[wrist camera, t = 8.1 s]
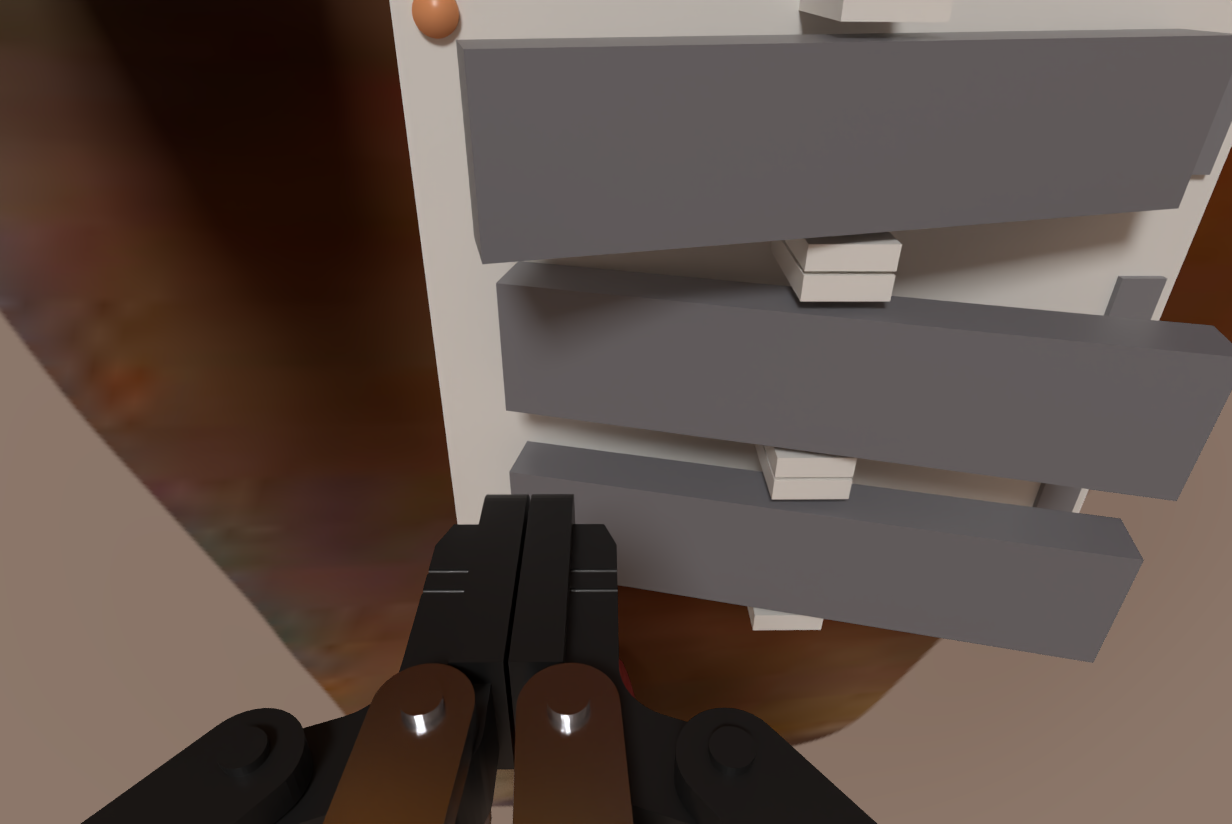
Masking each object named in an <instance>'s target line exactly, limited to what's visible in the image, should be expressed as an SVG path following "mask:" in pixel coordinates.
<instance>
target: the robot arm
mask: <svg viewBox="0 0 1232 824" xmlns="http://www.w3.org/2000/svg"><path fill="white" fill-rule="evenodd" d="M497 769H514V797H513V824H877V823H876V822H875V821H874V820H873V819H871V818H870V817H869V816H868V815H867V814H866V813H865V812H864V811H863V810H861V809H860V808H859V807H858V806H857V805H856V804H855V803H854V802H853V801H852V800H850V799H849V798H848V797H847V796H846V795H845V794H844V793H843V792H842V791H841V790H839V789H838V788H837V787H836V786H835V785H834V784H833V783H832V782H831V781H829V780H828V779H827V778H826V777H825V776H824V775H823V774H822V773H821V772H820V771H819V770H817V769H816V768H815V767H814V766H813V765H812V764H811V763H810V762H809V761H807V760H806V759H805V758H804V757H803V756H802V755H801V754H800V753H799V752H798V751H796V750H795V749H794V748H793V747H792V746H791V745H790V744H789V743H788V742H787V741H785V740H784V739H783V738H782V737H781V736H780V735H779V734H778V733H777V732H775V731H774V730H773V729H772V728H771V727H770V726H769V725H768V724H766V723H765V722H764V721H763V720H761V719H760V718H758V717H756V716H755V715H753V714H750V713H748V712H745V711H742V710H738V709H734V708H715V709H710V710H707V711H704V712H701V713H699V714H698V715H696V716H694V717H693V718H692V719H691V720H689V721H688V722H685V721H682V720H679V719H675V718H672V717H669V716H666V715H662V714H660V713H657V712H654V711H652V710H650V709H649V708H647V707H645V706H644V705H642V704H641V703H639V702H638V701H637V700H636V699H635V698H634V697H633V696H632V695H631V694H630V693H629V691H628V690H627V689H626V687H625V685H624V683H623V681H622V678H621V675H620V671H619V644H618V587H617V544H616V543H615V541H614V539H613V538H612V536H611V535H610V533H609V531H608V530H607V528H606V526H605V525H604V524H575V502H574V494H532V495H531V500H530V496H529V494H487V495H486V496H485V498H484V503H483V507H482V512H481V516H480V521H479V524H454V525H453V526H452V527H451V529H450V530H449V531H448V532H447V533H446V534H445V535H444V537H443V538H442V539H441V540H440V541H439V542H438V543H437V544H436V546H435V550H434V553H433V557H432V560H431V564H430V567H429V574H427V578H426V581H425V585H424V588H423V594H422V595H421V599H420V602H419V606H418V609H417V613H416V616H415V620H414V623H413V626H412V630H411V633H410V637H409V640H408V644H407V647H406V651H405V654H404V658H403V661H402V665H401V668H400V671H399V673H397V674H396V675H394V676H393V677H391V678H390V679H389V680H387V681H386V682H385V683H384V684H383V685H382V686H381V687H380V689H379V690H378V691H377V693H376V694H375V696H374V698H373V700H372V702H371V704H370V705H368V706H366V707H365V708H363V709H361V710H359V711H357V712H355V713H352V714H350V715H347V716H344V717H341V718H337V719H334V720H330V721H327V722H323V723H320V724H316V725H313V726H309V727H306V728H302V726H301V724H300V722H299V721H298V720H297V719H296V718H295V717H294V716H293V715H291V714H290V713H287V712H285V711H283V710H279V709H274V708H262V709H254V710H250V711H246V712H243V713H240V714H237V715H235V716H233V717H231V718H229V719H227V720H225V721H224V722H222V723H221V724H219V725H217V726H216V727H215V728H213V729H212V730H210V731H209V732H208V733H206V734H205V735H203V736H202V737H201V738H199V739H198V740H196V741H195V742H194V743H192V744H191V745H190V746H188V747H187V748H185V749H184V750H183V751H181V752H180V753H179V754H177V755H176V756H174V757H173V758H171V759H170V760H169V761H167V762H166V763H165V764H163V765H162V766H160V767H159V768H158V769H156V770H155V771H153V772H152V773H151V774H149V775H148V776H146V777H145V778H144V779H142V780H141V781H139V782H138V783H137V784H135V785H134V786H133V787H131V788H130V789H128V790H127V791H126V792H124V793H123V794H121V795H120V796H119V797H117V798H116V799H115V800H113V801H112V802H110V803H109V804H107V805H106V806H105V807H103V808H102V809H101V810H99V811H98V812H96V813H95V814H94V815H92V816H91V817H89V818H88V819H87V820H85V821H84V822H82V823H81V824H491V819H492V817H491V807H492V802H493V795H494V788H495V780H496V773H497Z"/></svg>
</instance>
